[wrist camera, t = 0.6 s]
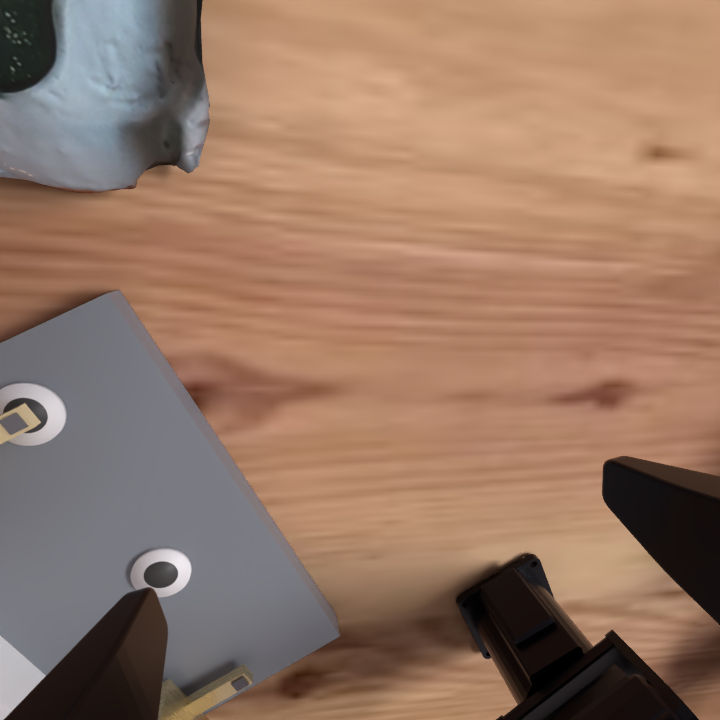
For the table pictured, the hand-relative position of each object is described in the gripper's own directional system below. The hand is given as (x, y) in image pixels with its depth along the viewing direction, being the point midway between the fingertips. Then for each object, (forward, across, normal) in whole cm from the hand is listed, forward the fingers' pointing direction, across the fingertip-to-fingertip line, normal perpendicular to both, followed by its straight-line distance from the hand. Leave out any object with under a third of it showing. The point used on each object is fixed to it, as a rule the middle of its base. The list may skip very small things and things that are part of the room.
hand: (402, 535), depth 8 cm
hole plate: (+14, +12, +8) cm, 20 cm away
